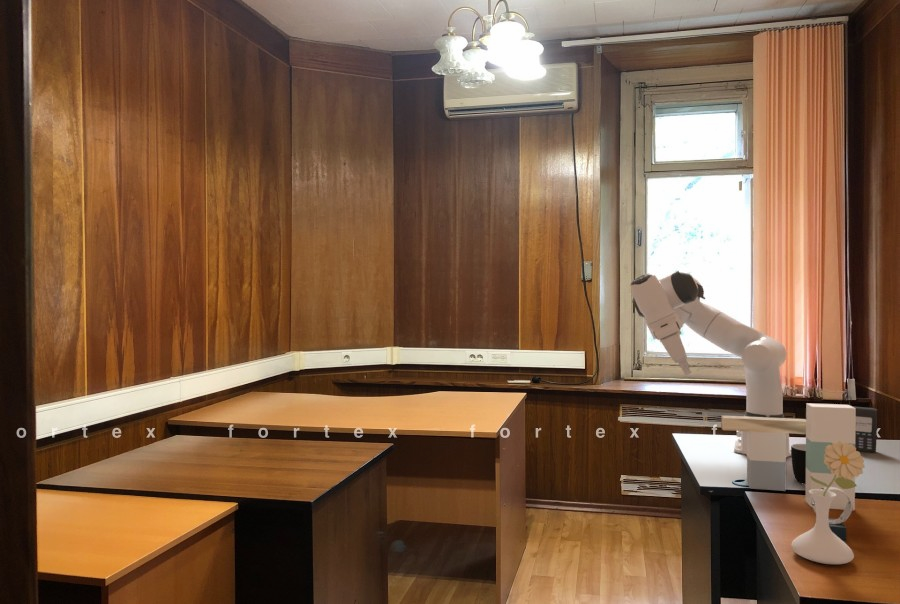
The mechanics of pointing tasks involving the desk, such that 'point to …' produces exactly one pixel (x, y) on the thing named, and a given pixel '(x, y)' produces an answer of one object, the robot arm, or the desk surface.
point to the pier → (766, 460)
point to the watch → (837, 524)
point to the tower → (820, 432)
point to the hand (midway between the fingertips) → (687, 371)
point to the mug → (799, 462)
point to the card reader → (866, 429)
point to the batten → (763, 424)
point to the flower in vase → (820, 538)
